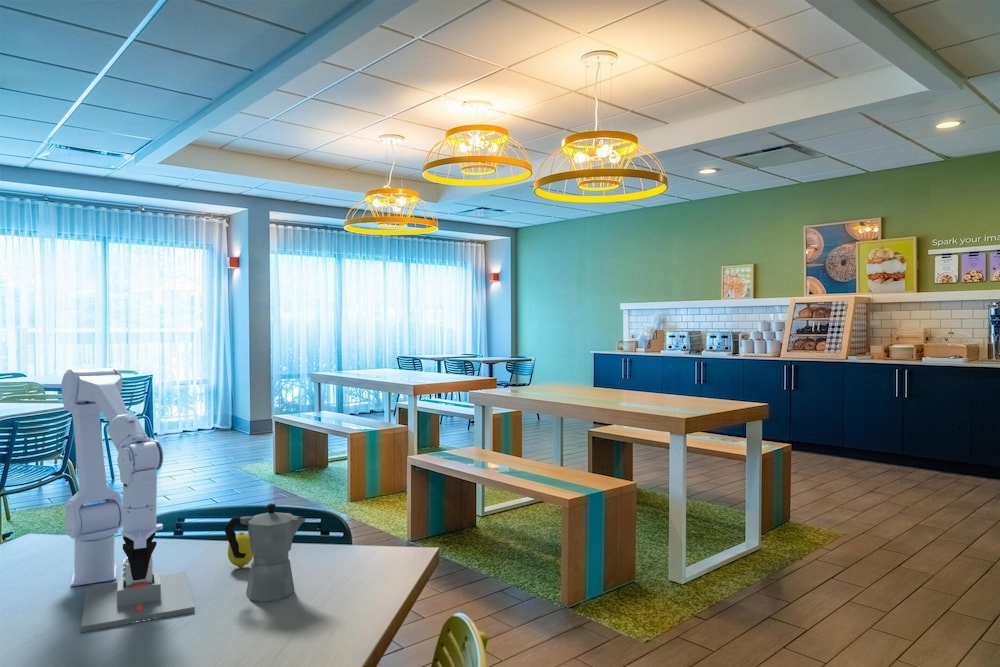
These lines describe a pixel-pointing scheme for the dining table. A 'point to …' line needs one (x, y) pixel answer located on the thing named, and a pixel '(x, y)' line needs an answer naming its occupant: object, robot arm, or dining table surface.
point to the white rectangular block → (128, 576)
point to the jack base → (136, 601)
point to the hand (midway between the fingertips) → (139, 574)
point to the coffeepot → (267, 552)
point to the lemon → (241, 551)
